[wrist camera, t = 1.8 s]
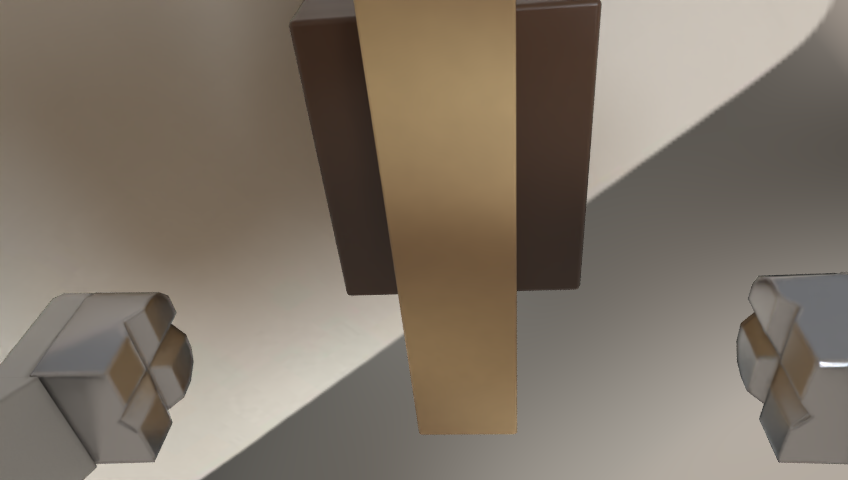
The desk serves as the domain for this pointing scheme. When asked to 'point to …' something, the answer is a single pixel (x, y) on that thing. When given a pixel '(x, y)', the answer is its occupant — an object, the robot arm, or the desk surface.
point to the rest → (535, 139)
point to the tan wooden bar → (450, 199)
